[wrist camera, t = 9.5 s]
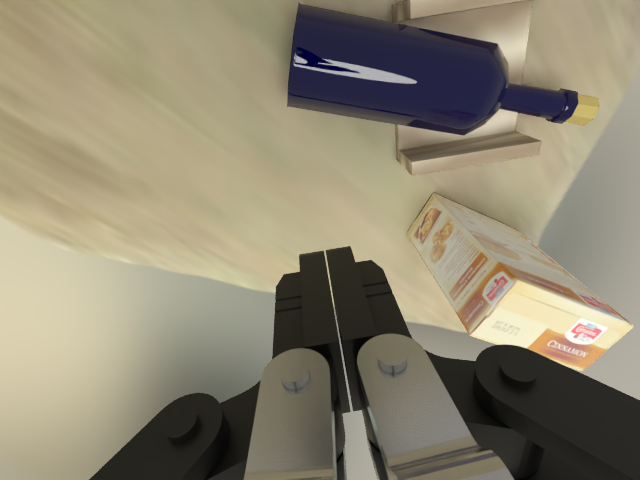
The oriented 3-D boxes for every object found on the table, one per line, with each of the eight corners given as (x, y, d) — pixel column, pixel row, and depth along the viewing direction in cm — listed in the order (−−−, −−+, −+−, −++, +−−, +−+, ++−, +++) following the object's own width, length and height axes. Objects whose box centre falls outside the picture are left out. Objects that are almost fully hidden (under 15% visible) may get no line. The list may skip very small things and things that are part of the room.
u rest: (392, 5, 35) (410, -2, 30) (529, -18, 35) (571, -28, 30) (396, 159, 43) (411, 175, 38) (508, 141, 43) (539, 155, 38)
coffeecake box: (404, 234, 48) (467, 337, 31) (433, 190, 45) (519, 277, 28) (487, 268, 52) (582, 375, 35) (518, 229, 49) (639, 326, 32)
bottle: (288, 117, 38) (544, 161, 40) (285, 94, 29) (617, 151, 31) (300, 28, 37) (563, 78, 39) (301, -26, 27) (644, 44, 30)
